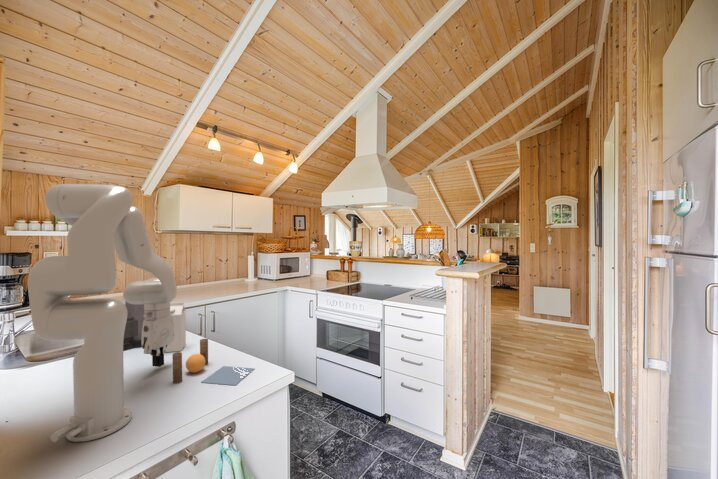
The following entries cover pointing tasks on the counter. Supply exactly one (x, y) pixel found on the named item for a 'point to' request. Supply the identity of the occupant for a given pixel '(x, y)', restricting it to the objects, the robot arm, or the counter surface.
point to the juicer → (133, 326)
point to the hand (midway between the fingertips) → (158, 365)
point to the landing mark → (226, 376)
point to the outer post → (204, 349)
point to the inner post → (177, 367)
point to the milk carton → (178, 327)
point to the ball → (195, 363)
